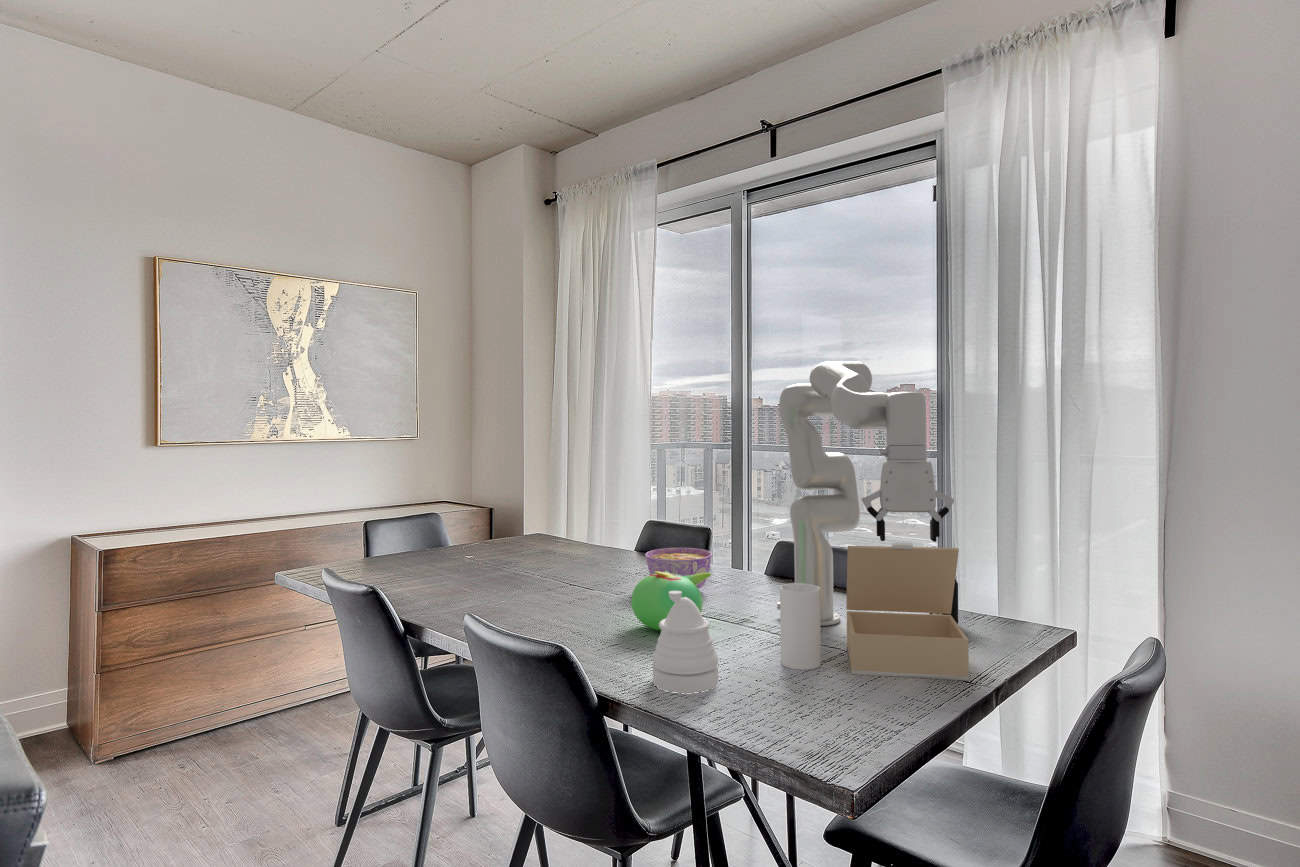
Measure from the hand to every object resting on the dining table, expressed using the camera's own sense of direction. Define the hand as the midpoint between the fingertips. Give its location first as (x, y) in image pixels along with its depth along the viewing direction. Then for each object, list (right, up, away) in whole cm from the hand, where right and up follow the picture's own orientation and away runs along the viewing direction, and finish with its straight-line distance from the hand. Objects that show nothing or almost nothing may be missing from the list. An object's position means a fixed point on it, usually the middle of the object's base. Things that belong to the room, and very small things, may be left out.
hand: (907, 540), depth 147 cm
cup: (-20, -27, +8) cm, 35 cm away
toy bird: (-47, -27, +35) cm, 64 cm away
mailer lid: (+2, -10, +12) cm, 16 cm away
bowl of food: (-43, -26, +73) cm, 88 cm away
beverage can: (+21, -26, +34) cm, 48 cm away
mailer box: (+2, -27, +8) cm, 28 cm away
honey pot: (-44, -28, -2) cm, 52 cm away
